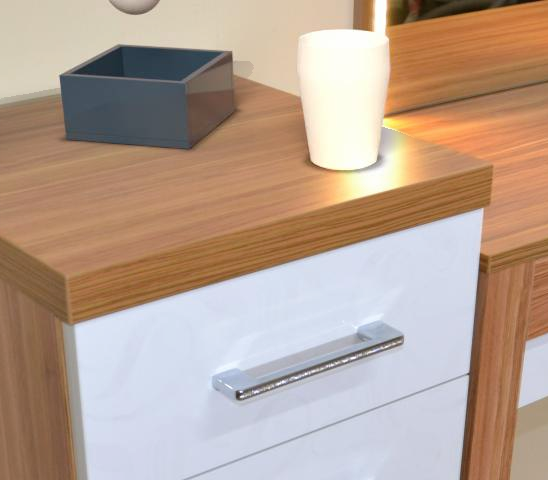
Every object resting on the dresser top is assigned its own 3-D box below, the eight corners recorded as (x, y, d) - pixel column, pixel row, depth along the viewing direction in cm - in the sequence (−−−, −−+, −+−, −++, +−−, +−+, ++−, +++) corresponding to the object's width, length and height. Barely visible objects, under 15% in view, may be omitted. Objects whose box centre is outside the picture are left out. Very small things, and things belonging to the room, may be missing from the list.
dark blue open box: (189, 149, 117) (184, 83, 114) (66, 139, 120) (58, 75, 117) (235, 111, 130) (232, 50, 127) (123, 103, 133) (118, 44, 130)
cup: (357, 181, 109) (358, 54, 104) (280, 164, 113) (277, 42, 108) (405, 156, 116) (408, 36, 110) (331, 141, 120) (330, 25, 115)
